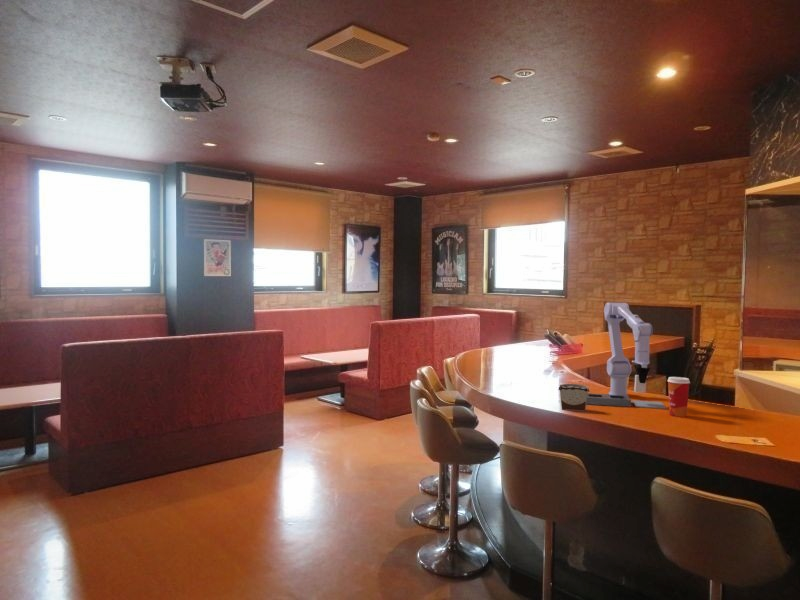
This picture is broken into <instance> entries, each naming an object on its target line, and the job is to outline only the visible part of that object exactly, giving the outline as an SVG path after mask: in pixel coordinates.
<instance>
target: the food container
mask: <svg viewBox="0 0 800 600" xmlns="http://www.w3.org/2000/svg"><path fill="white" fill-rule="evenodd" d="M558 391H559V397H560V404H561V411H575V412H577V411H579V412H586V408H587V404H586V402H587V395H588V393H590V388H589V386H587V385H583V384H576V383H566V384H565V383H562V384H560V385H559V386H558Z"/></svg>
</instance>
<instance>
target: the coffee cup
mask: <svg viewBox="0 0 800 600" xmlns="http://www.w3.org/2000/svg"><path fill="white" fill-rule="evenodd" d="M666 381H667V382H668V383H667V386H668V387H667V389H668V390H667V391H668V409H669V410H668V411H669V416H672V417H675V418H686V417H687V415H688V413H687V412H688V405H689V404H688V403H689V390H690V384H691V381H690V379H689V378H688V377H682V376H669V377H668V379H667V380H666Z"/></svg>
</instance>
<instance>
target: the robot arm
mask: <svg viewBox="0 0 800 600" xmlns="http://www.w3.org/2000/svg"><path fill="white" fill-rule="evenodd" d="M603 313H604V320H605V321H606V322H607V325H608V326H607V329H608V335H609V342H610V350H611V351H610V352H611V357H610V358H608V359H607V361H606V373H607V374H608V376H609V377H610V391H608V394H610V395H628V393H627V392H628V378H629V376H630V375H631V374H632V371H633V370H632V365H631V363H630V359H628V358H627V357H626V356H625V355H624V349H623V343H622V334H621V333H622V332H621V327H620V323H621V322H623V321H624V320H626V324H627V325H628V326H629V327H630V329H632V334H633V340H634V341H635V342H634V360H631V362H632V363H634V364H633V367H634V369H635V371H636V372H635V373H636V375H639V382H640V383H645V382H646V383H647V377H648V374H649V372H650V370H651V367H649V364H650V362H651V361H650V340H651V336H652V335H653V333H654V331H653V330H654V329H653V326H652V324H651V322H645V321H644V320H643V319H641V318H640V316H639V314H633V313H632V311H631V310H630V306H629V304H628V303H627V302H610V301H609V302H608V301H607V302H606V303H605V305H604V308H603ZM628 397H629V398H630V396H629V395H628Z"/></svg>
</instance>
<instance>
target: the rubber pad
mask: <svg viewBox="0 0 800 600" xmlns="http://www.w3.org/2000/svg"><path fill="white" fill-rule="evenodd" d="M631 404H633V405H634V407H635V408H643V409H656V410H657V409H658V410H659V409H660V410H667V409H668V408H667V407H666V406H665V405H664V403H662V402H661V401H654V400H653V401H650V400H649V401H648V400H634V399H632V400H631Z"/></svg>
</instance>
